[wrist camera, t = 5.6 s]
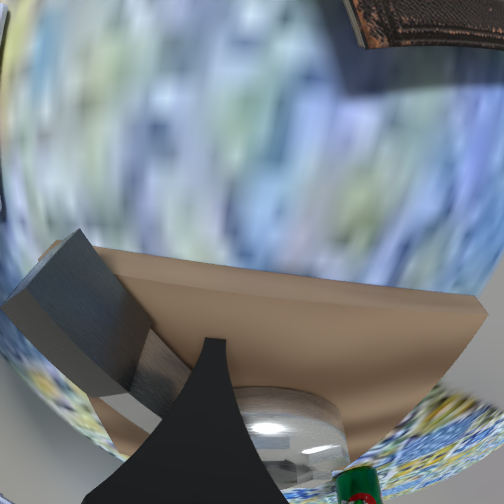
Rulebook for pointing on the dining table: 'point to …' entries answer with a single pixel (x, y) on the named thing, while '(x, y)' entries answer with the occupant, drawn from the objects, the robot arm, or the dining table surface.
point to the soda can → (358, 486)
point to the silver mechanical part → (158, 364)
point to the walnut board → (299, 337)
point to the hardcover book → (427, 23)
